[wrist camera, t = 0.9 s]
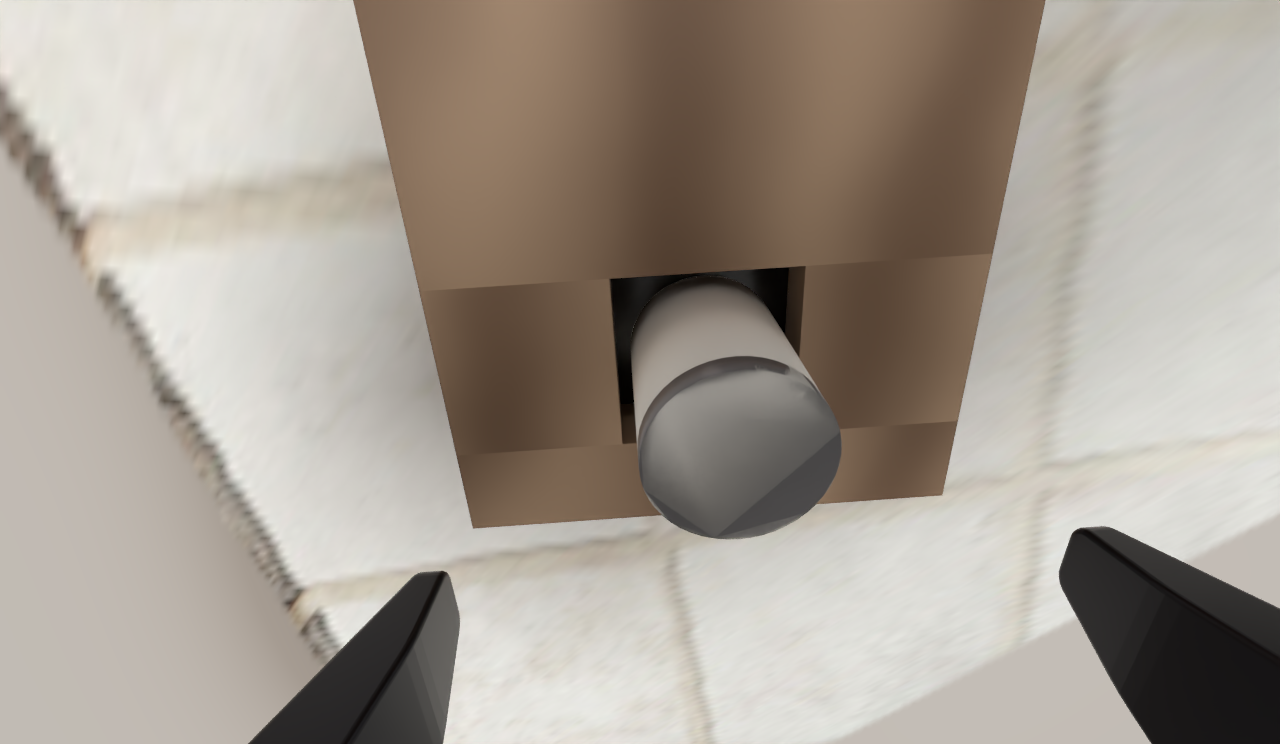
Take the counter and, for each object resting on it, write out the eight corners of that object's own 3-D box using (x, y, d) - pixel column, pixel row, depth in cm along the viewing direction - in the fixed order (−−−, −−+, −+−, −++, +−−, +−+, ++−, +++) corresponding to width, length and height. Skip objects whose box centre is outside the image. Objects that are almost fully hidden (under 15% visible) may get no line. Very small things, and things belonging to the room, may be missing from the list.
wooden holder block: (1003, -493, 13) (1206, -777, 9) (878, 410, 23) (942, 495, 19) (333, -460, 13) (187, -734, 8) (500, 436, 23) (473, 528, 18)
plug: (778, 270, 16) (851, 362, 11) (772, 403, 18) (832, 531, 13) (625, 280, 16) (632, 377, 11) (634, 412, 18) (643, 545, 13)
